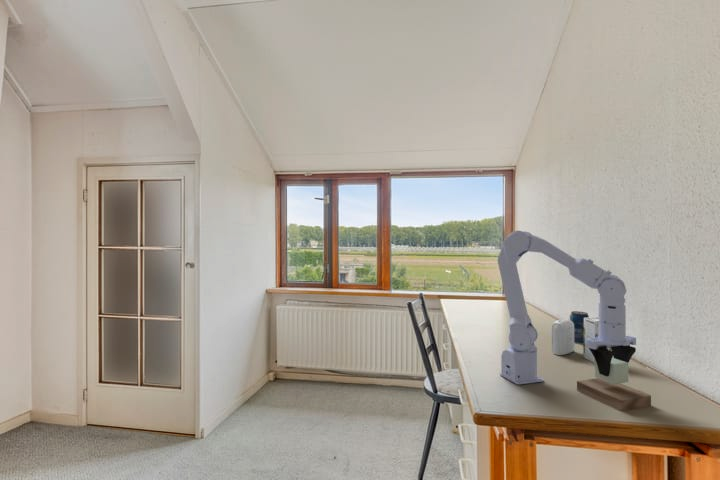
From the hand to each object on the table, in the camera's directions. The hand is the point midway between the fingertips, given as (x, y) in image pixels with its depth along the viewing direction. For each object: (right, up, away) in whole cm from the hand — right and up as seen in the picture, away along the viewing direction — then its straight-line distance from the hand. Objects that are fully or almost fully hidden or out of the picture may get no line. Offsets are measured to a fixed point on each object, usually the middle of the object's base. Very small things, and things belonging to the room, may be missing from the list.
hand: (612, 373), depth 90 cm
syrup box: (+16, -7, +28) cm, 33 cm away
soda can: (+24, -7, +51) cm, 56 cm away
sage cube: (0, -2, 0) cm, 2 cm away
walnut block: (0, -7, 0) cm, 7 cm away
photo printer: (+9, -7, +37) cm, 39 cm away
